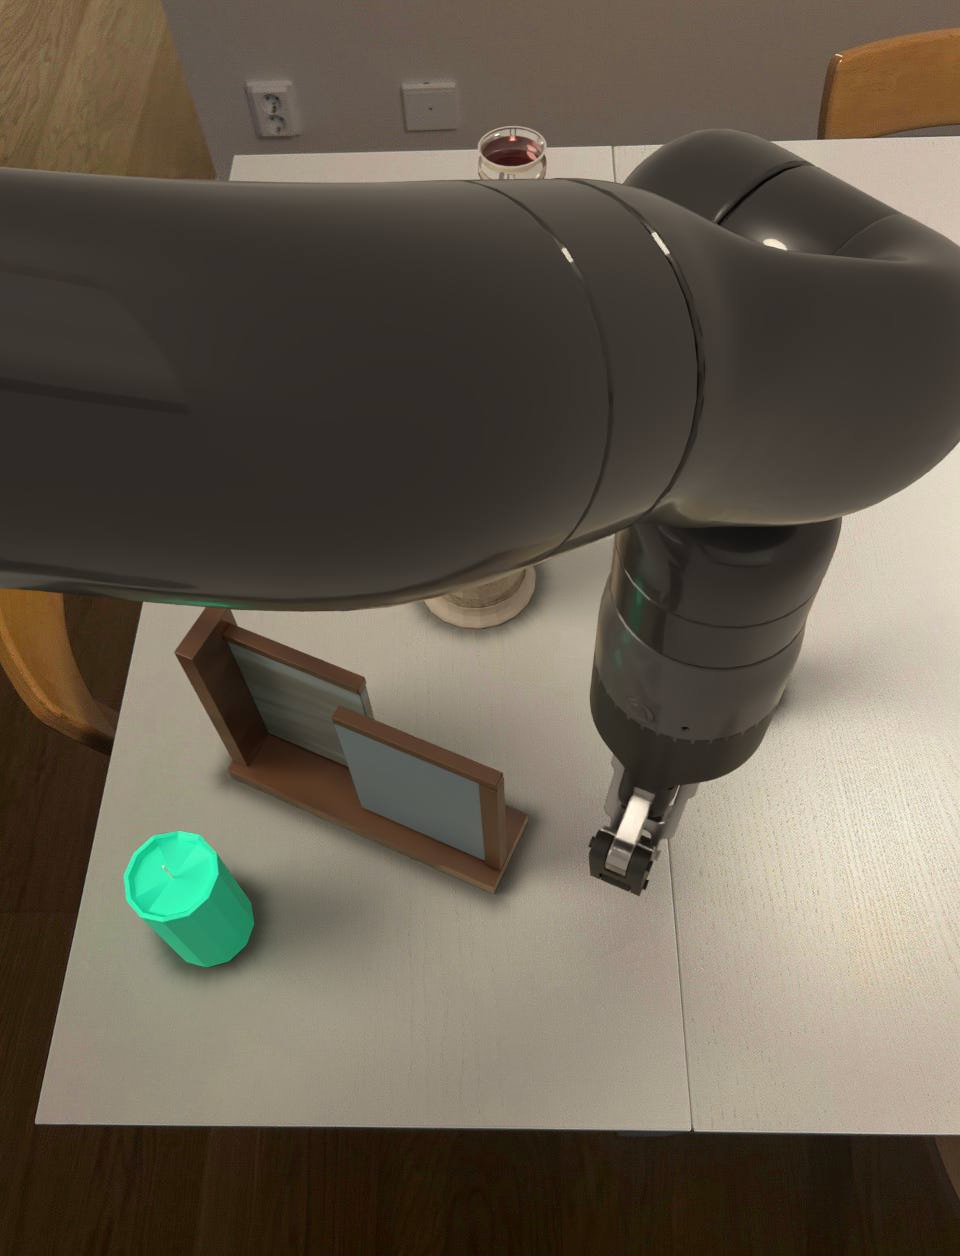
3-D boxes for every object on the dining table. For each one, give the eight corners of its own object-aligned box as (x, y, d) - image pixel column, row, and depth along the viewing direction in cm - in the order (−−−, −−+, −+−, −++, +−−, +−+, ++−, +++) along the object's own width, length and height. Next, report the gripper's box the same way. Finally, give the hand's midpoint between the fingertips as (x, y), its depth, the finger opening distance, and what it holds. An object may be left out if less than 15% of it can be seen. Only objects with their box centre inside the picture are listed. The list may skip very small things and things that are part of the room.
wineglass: (558, 249, 112) (562, 145, 102) (512, 280, 110) (511, 177, 100) (513, 221, 115) (512, 116, 105) (467, 250, 112) (462, 147, 102)
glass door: (500, 870, 74) (496, 788, 62) (360, 809, 77) (329, 718, 65) (507, 855, 75) (504, 770, 63) (368, 795, 78) (339, 703, 66)
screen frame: (493, 894, 75) (486, 796, 61) (231, 777, 81) (166, 662, 66) (527, 821, 78) (528, 711, 63) (271, 713, 84) (218, 589, 69)
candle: (249, 966, 73) (205, 914, 63) (163, 968, 73) (106, 916, 63) (258, 882, 76) (218, 819, 66) (176, 883, 77) (123, 820, 66)
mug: (547, 615, 88) (551, 526, 78) (431, 638, 87) (419, 552, 77) (507, 483, 95) (506, 387, 85) (400, 504, 94) (385, 409, 84)
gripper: (727, 849, 37) (670, 973, 51) (836, 544, 44) (759, 729, 58) (529, 769, 39) (527, 910, 53) (663, 487, 45) (629, 680, 60)
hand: (648, 815), depth 55 cm, fingers open, 5 cm apart
